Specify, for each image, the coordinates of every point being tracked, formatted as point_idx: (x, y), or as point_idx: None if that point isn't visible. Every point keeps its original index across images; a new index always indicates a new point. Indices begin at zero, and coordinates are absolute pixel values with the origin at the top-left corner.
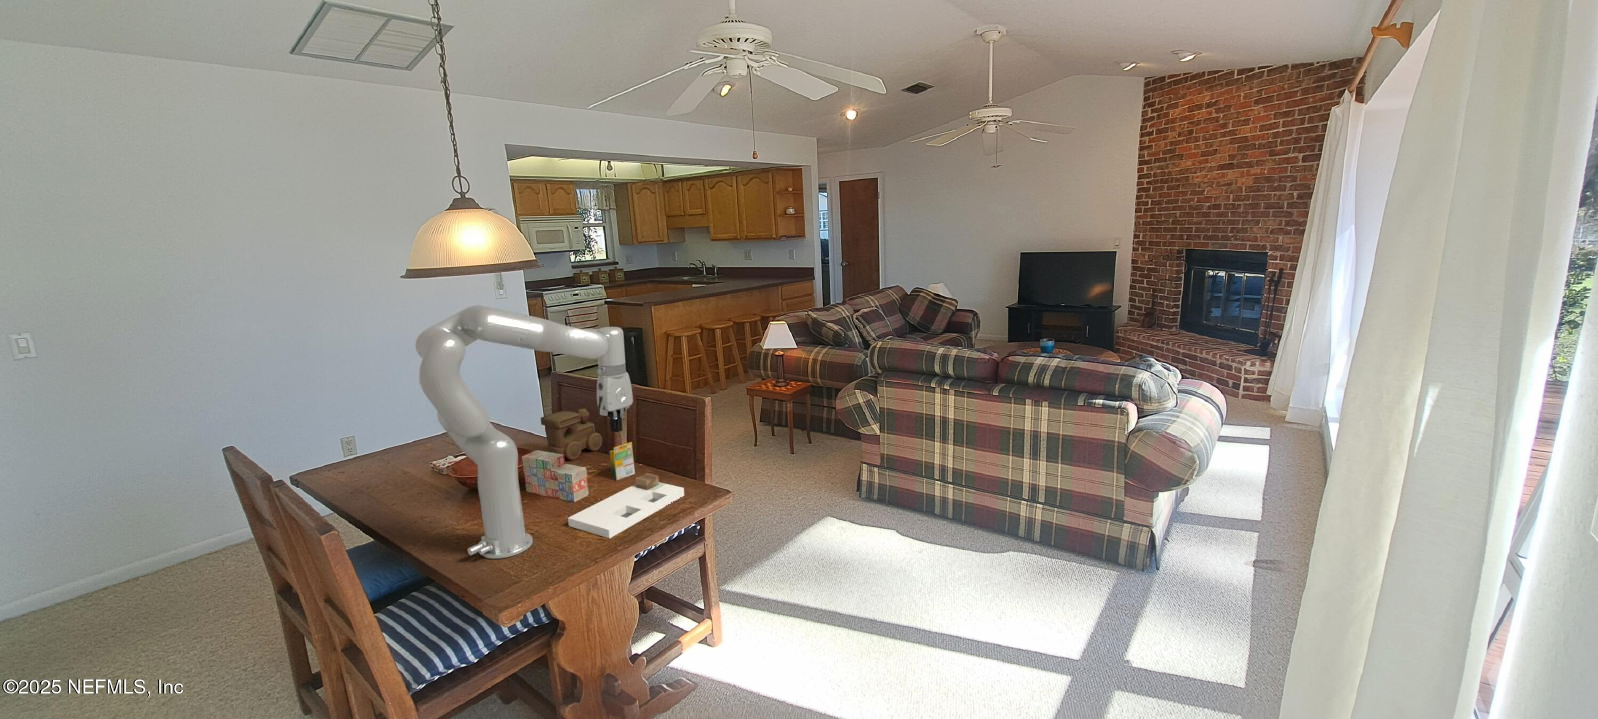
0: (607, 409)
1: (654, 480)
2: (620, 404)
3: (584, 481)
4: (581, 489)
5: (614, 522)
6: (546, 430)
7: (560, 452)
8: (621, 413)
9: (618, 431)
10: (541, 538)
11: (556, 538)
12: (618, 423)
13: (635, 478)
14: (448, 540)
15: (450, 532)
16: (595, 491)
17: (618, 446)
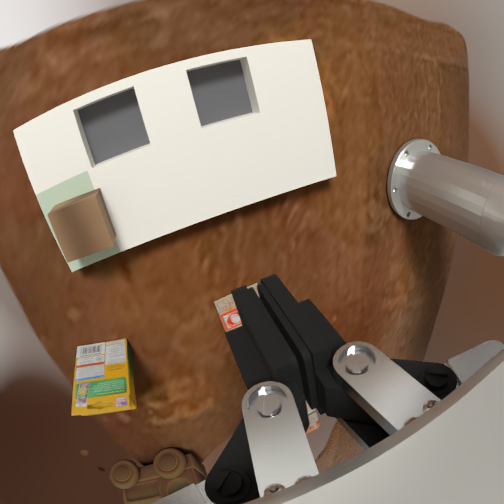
0: None
1: (65, 205)
2: (450, 480)
3: (232, 321)
4: None
5: (281, 59)
6: None
7: (193, 461)
8: (282, 420)
9: (275, 275)
10: (377, 162)
11: (363, 138)
12: (300, 318)
13: (113, 244)
14: (429, 264)
15: (417, 287)
16: (192, 310)
17: (114, 409)
